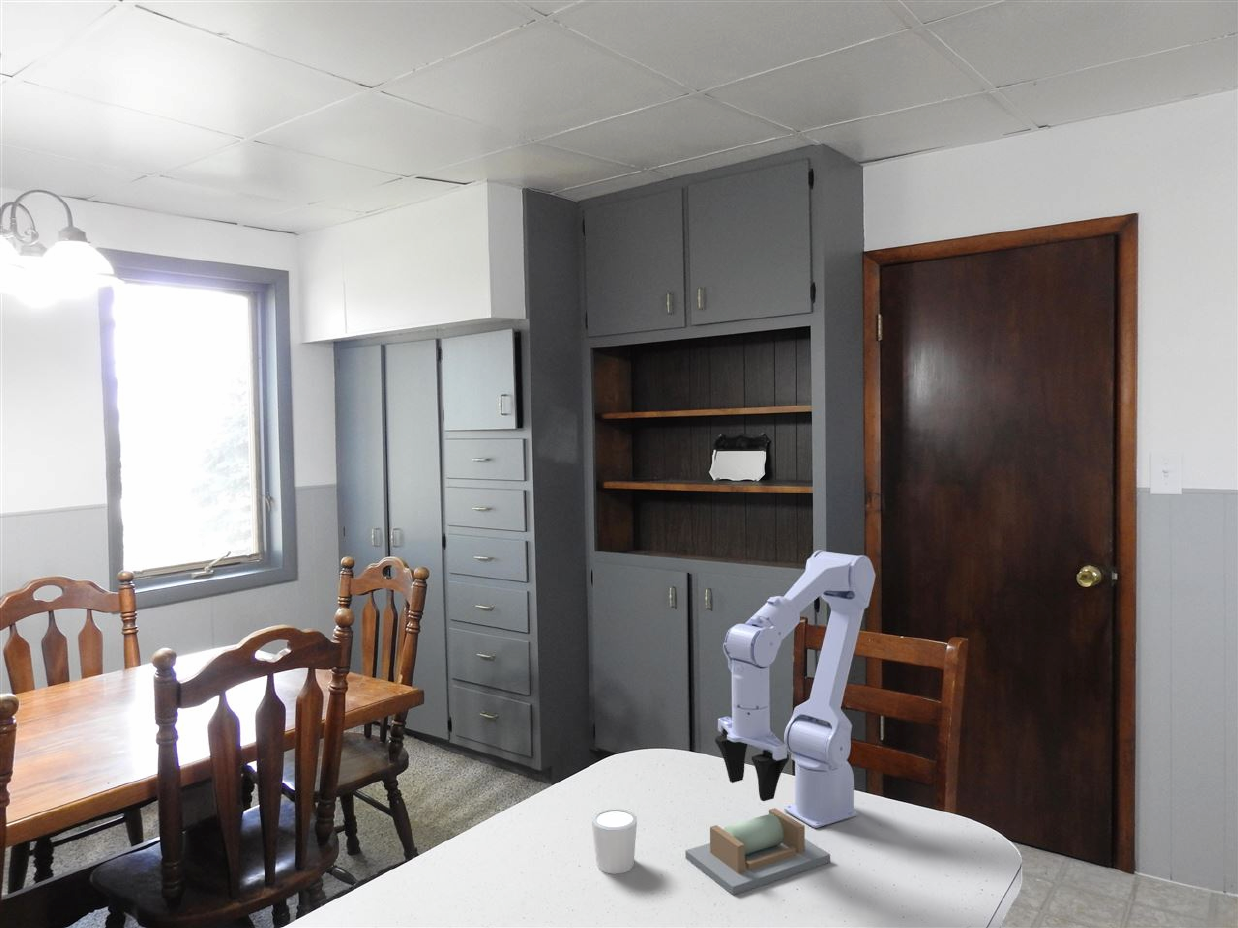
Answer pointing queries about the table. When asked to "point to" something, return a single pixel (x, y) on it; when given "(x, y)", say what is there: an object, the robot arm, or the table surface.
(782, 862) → the holder
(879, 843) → the table surface
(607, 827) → the white cup
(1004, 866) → the table surface
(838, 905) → the table surface
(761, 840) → the roll
